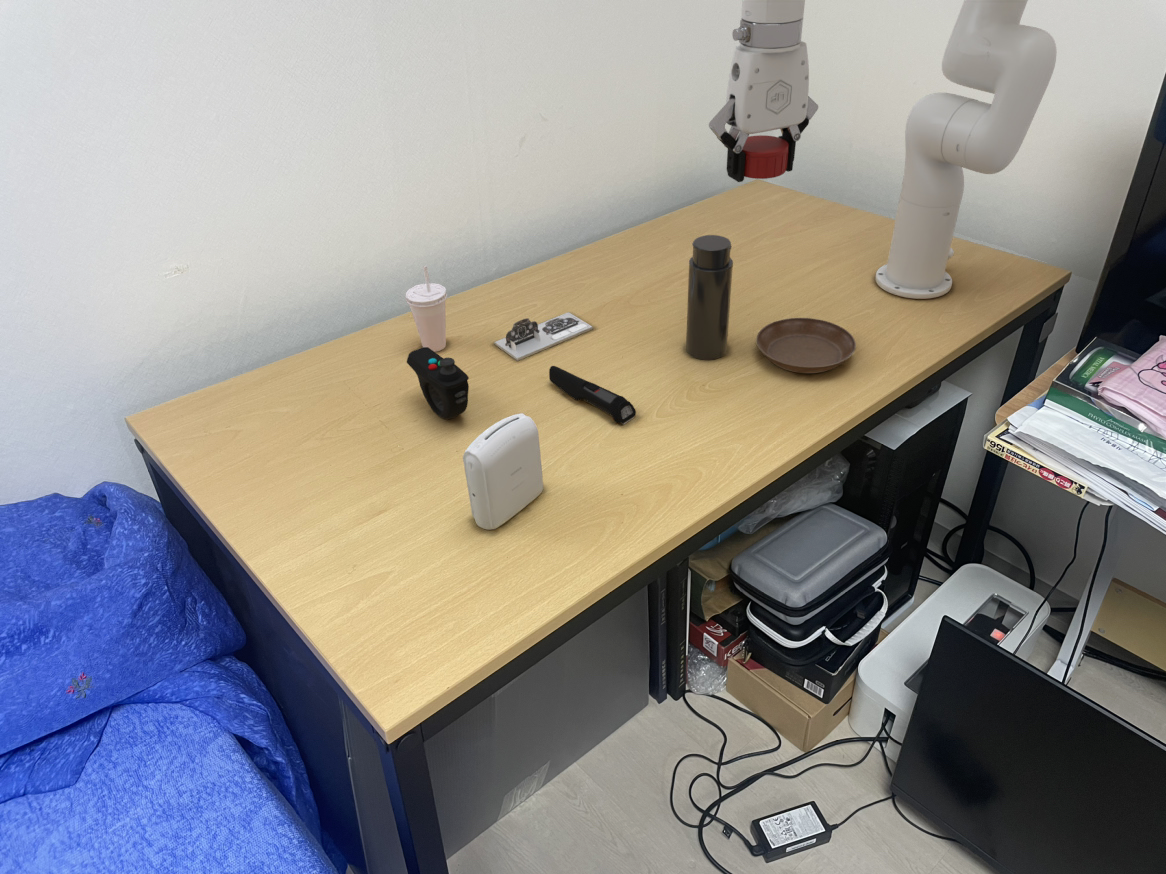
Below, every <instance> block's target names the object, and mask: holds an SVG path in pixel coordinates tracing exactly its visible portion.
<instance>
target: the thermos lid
mask: <svg viewBox="0 0 1166 874" xmlns="http://www.w3.org/2000/svg"><path fill="white" fill-rule="evenodd" d="M778 137H779V136H772V135H765V134H764V135H761V134H759V135H751V136H750V135H749V136H748V138H747V140H746V142H745V145H744V147H743V149H742V151H743V152H745V154H746V158H745V173H744V178H749V179H756V180H757V179H758V180H764V179H765V180H766V179H773V178H777V177H780V176H782V175H784V174H785V173H786V172H787V171H786V168H787V161H788V151H789V150H788V142H787V141H786V140H784V139H781V138H778Z"/></svg>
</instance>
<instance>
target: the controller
mask: <svg viewBox="0 0 1166 874" xmlns="http://www.w3.org/2000/svg"><path fill="white" fill-rule="evenodd" d="M455 362H456V361H455V359H454V358H452V357H442V356H441V355H440V354H438V353H437V352H434V351H433V350H431V349H430V348H428V347H423V346H422V347H420V348H418V349H415V350H413V351H410V353H408V355H407V359H406V364H407V365H408V366H409V367H410V368H411V369H412V370H413V372H414V373H415V374H416V376H417V379H418V383H419V387H420V389H421V392H422V394H423V396H424V399H425V401H426V402H427V404H428V405H429V407H430V408H431V410H432V411H433V412H434V414H435V415H437V416H438V417H440V418H442V419H444V420H451V419H454V418H456V417H458V416H460V415H462V414H463V413H464V412H465V411H466V410H467V408H468V404H469V389H470V386H469V381H468V380H469V379H470V378H469V375H468V374H467V373H466V372H465V371H464V370H462V368H460V367H459V366H458V365H457V364H455Z"/></svg>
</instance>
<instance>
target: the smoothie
mask: <svg viewBox="0 0 1166 874" xmlns="http://www.w3.org/2000/svg"><path fill="white" fill-rule="evenodd" d="M422 268H423V275H424V281H425V283H420V284H416V285H414V286H412V287H410V288H409V289H407V291H406V292H405V302H406V303H407V304H408V305H409V307H410V310H411V313H412V318H413V321H414V323H415V327H416V331H417V333H418V335H419V339H420V342H421V345H422V348H423V347H428V348H430V349H431V350H433V351H434V352H435V353H437V352H439V351H442V350H444V349H445V348H446V346H447V330H446V329H447V324H446V323H447V322H446V321H447V319H446V317H447V316H446V312H447V311H446V307H447V306H446V299H447V298H448V292H447V289H446V287H445V286H443V285H441V284H439V283H434V282H433V283H432V282H430V278H429V272H428V266H427V265H424V266H422Z"/></svg>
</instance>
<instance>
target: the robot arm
mask: <svg viewBox="0 0 1166 874" xmlns="http://www.w3.org/2000/svg"><path fill="white" fill-rule="evenodd" d="M1028 1H1029V0H963V3H962V6H961V8H960V10H959V12H958V15H957V18H956V20H955V23H954V26H953V28H952V31H951V33H950V37H949V38H948V41H947V44H946V47H945V49H944V53H943V56H942V61H941V71H942V74H943V76H944V77H945V79H947V80H948V81H950V82H952V83H954V84H957V85H959V86H962V87H966V88H969V89H973V90H978V91H981V92H985V93H989V94H992V95H994V96H993V99H992V101H991V103H988V102H984V101H981V100H978V99H975V98H971V97H967V96H964V95H960V94H956V93H950V92H933V93H929V94H926V95H925V96H923V97H922V98H920V99H919V100H917V102H915V104H914V105H913V107H912V108H911V110H910V112H909V113H908V116H907V118H906V119H907V120H906V123H905V131H904V133H905V134H904V138H905V139H904V141H905V142H904V143H905V144H904V146H905V160H904V168H903V169H904V170H903V177H902V183H901V189H900V194H899V198H898V204H897V208H896V214H895V220H894V225H893V230H892V231H893V232H892V235H891V242H890V247H889V252H888V257H887V261H886V262H887V263H885V264H883V265H882V266H880V267H879V268H878V269H877V270H876V273H875V282H876V284H877V286H878V287H880V289H882V290H884V291H885V292H887V293H889V294H892V295H894V296H898V297H902V298H906V299H914V300H916V299H917V300H928V299H934V298H938V297H942V296H944V295H945V294H948V292H950V291H951V288H952V286H953V285H952V284H953V279H952V277H951V275H950V274H949V273H948V272H947V271H946V269H947V268H946V267H947V264H948V260H950V259H951V258H953V257H954V255H955V251H954V249H953V248H952V243H953V238H954V234H955V229H956V225H957V220H958V216H959V213H960V208H961V203H962V199H963V195H964V191H965V190H964V189H965V176H964V171H963V169H966V170H970V171H973V172H976V173H979V174H984V175H993V174H998V173H1000V172H1002V171H1003V170H1005V169H1006V168H1007V167H1009V165H1010V164H1011V163H1012V162H1013V160H1014V159H1015V157H1016V156H1017V154H1018V152H1019V150H1020V148H1021V147H1022V144H1023V142H1024V140H1025V138H1026V136H1027V133H1028V131H1029V129H1030V126H1031V124H1032V122H1033V120H1034V118H1035V116H1036V113H1037V111H1038V109H1039V106H1040V104H1041V102H1042V99H1043V97H1044V95H1045V93H1046V91H1047V88H1048V86H1049V84H1050V81H1051V79H1052V77H1053V75H1054V74H1053V73H1054V70H1055V66H1056V63H1057V44H1056V41H1055V39H1054V37H1053V36H1052V35H1051V33H1049V32H1048V31H1047V30H1044V29H1042V28H1039V27H1035V26H1031V25H1026V24H1021V20H1022V17H1023V14H1024V11H1025V9H1026V7H1027V3H1028ZM805 3H806V0H742V1H741V16H740V17H741V18H740V20H739V27H738V28H734V29H733V30H732V33H731V35H732V39H733V41H735V42H736V41H738V43H739V45H737V46H735V47H734V52H733V56H732V60H731V65H730V69H729V74H728V80H727V81H728V82H727V89H726V96H725V97H726V99H725V104H724V105H723V106H722V108H721V109H720V110H719V111H718V112H717V113H716V114H715V116H714V117H713V118H712V119H711V120H710V121H709V122H708V128H709V129H710V130H711V132H712V133H713V134H714V136H715V137H716V139H718V140H719V142H720V143H721V144H722V145H723V147H725V148H726V149H727V151H726V153H727V155H726V173H727V176H728V177H729V178H731V179H732V180H734V181H735V182H737V183H742V182H744V180H745V177H744V173H745V158H746V154H745V152H743V151H742V149H743V147H744V145H745V142H746V140H747V138H748V137H749V136H750V135H754V134H755V135H756V134H761V133H765V132H772V131H776V130H780V132H781V135H779V136H777V137H778V138H781V139H784V140H786V141H787V142H788V150H789V151H788V161H787V168H786V172H792V171H793V168H794V167H793V166H794V162H795V154H796V144H797V142H798V141H800V139H801V137H802V133H803V132H804V131H805V129H806V128H807V127H808V126H809V123H810V120H812V118H813V117H814V115H815V114H816V113H817V111H818V109H819V104H817V102H815V101H814V99H812V97H810V96H809V90H810V88H809V85H810V83H809V81H810V69H809V54H808V47H807V46H808V45H807V43H806V42H805V41H802V37H803V36H802V34H803V25H804V15H805V5H806V4H805ZM726 124H727V125H728V126H730V128H729V131H728V130H727V129H726Z"/></svg>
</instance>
